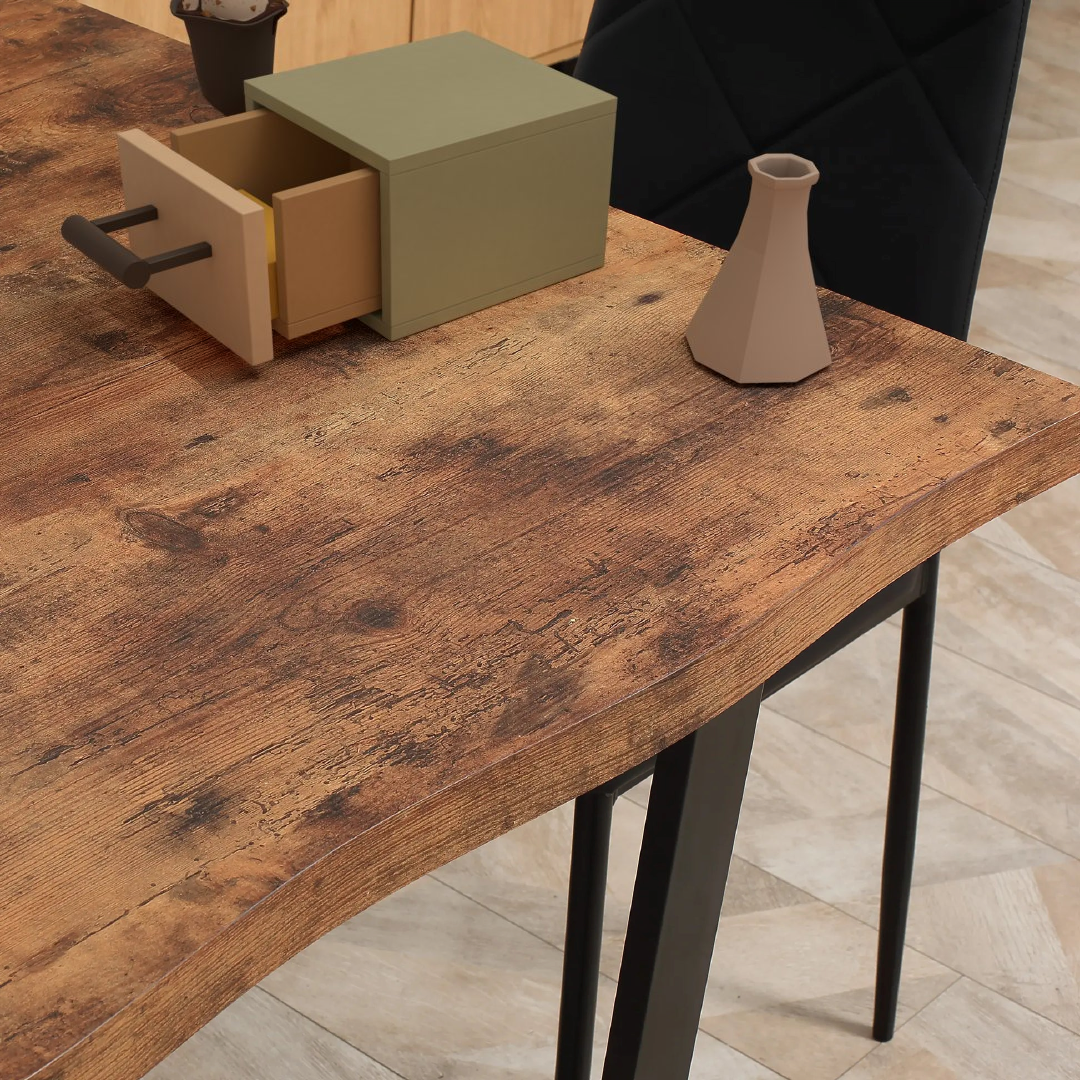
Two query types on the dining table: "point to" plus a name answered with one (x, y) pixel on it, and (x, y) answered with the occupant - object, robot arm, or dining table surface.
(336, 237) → the drawer
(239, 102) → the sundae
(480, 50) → the cabinet
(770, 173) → the flask
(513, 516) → the dining table surface
